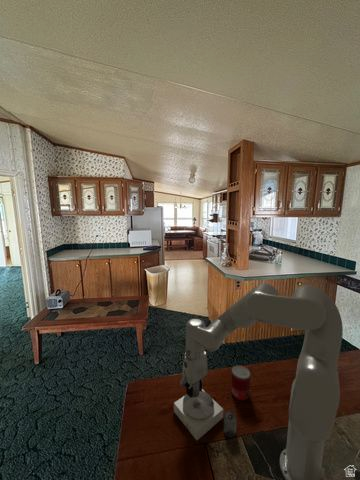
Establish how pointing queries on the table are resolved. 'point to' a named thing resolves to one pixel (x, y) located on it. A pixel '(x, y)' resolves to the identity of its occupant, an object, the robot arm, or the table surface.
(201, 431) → the scale
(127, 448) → the table surface
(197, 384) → the spacer
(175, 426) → the table surface
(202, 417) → the pan
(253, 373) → the table surface
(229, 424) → the spacer
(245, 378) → the canned food
